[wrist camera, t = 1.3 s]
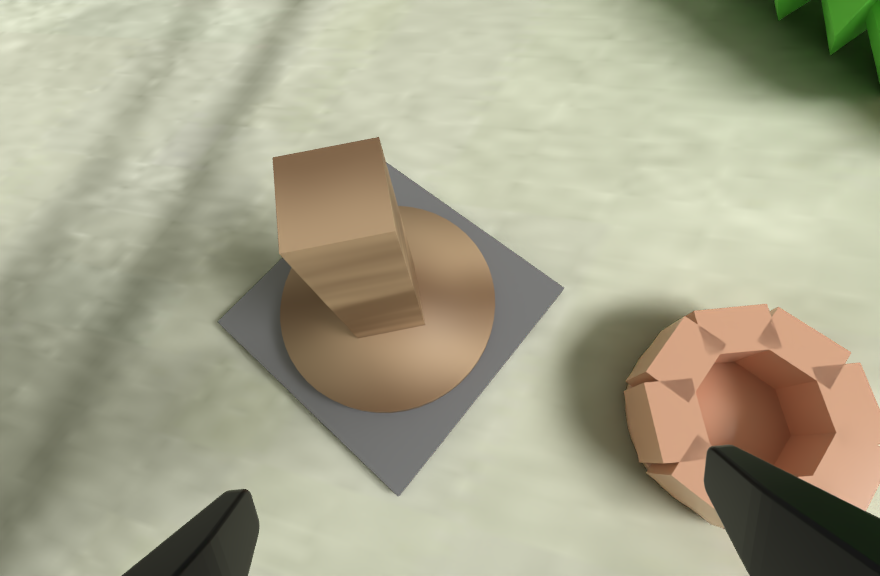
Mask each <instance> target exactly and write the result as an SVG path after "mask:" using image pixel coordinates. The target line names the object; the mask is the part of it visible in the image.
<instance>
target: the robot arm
mask: <svg viewBox="0 0 880 576" xmlns="http://www.w3.org/2000/svg"><path fill="white" fill-rule="evenodd" d="M704 487H705V490H706V493H707V495H708V497H709V499H710V501H711V503H712V505H713V506H714V508H715V510H716V512H717V514H718V516H719V518H720V520H721V522H722V524H723V526H724V528H725V530H726V532H727V534H728V535H729V537H730V539H731V541H732V543H733V545H734V547H735V549H736V551H737V553H738V555H739V557H740V559H741V561H742V562H743V564H744V566H745V568H746V570H747V571H748V573H749V575H750V576H880V518H878V517H876V516H874V515H872V514H870V513H868V512H866V511H864V510H862V509H860V508H858V507H856V506H854V505H852V504H850V503H848V502H846V501H844V500H842V499H840V498H838V497H836V496H834V495H832V494H830V493H828V492H826V491H824V490H822V489H820V488H818V487H816V486H814V485H812V484H810V483H808V482H806V481H804V480H802V479H800V478H798V477H796V476H794V475H792V474H790V473H788V472H786V471H784V470H782V469H780V468H778V467H776V466H774V465H772V464H770V463H768V462H766V461H764V460H762V459H760V458H758V457H756V456H754V455H752V454H750V453H748V452H746V451H744V450H742V449H740V448H738V447H736V446H734V445H729V444H727V445H716V446H711V447H709V448H708V450H707V453H706V462H705V471H704ZM258 534H259V519H258V516H257V512H256V509H255V506H254V502H253V499H252V496H251V493H250V492H249V491H248V490H246V489H239V490H230V491H226V492H225V493H223V494H222V495H221V496H219V497H218V498H217V499H216V500H214V501H213V502H212V503H211V504H210V505H208V506H207V507H206V508H205V509H203V510H202V511H201V512H200V513H198V514H197V515H196V516H195V517H194V518H192V519H191V520H190V521H189V522H187V523H186V524H185V525H184V526H182V527H181V528H180V529H179V530H177V531H176V532H175V533H174V534H173V535H171V536H170V537H169V538H168V539H166V540H165V541H164V542H163V543H161V544H160V545H159V546H158V547H156V548H155V549H154V550H153V551H152V552H150V553H149V554H148V555H147V556H145V557H144V558H143V559H142V560H140V561H139V562H138V563H137V564H135V565H134V566H133V567H132V568H131V569H129V570H128V571H127V572H126V573H124V574H123V575H122V576H248V573H249V569H250V565H251V562H252V558H253V554H254V550H255V546H256V542H257V538H258Z"/></svg>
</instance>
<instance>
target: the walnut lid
mask: <svg viewBox="0 0 880 576" xmlns="http://www.w3.org/2000/svg"><path fill="white" fill-rule="evenodd" d="M273 170H274V185H275V199H276V214H277V228H278V243H279V254H280V255H281V256H282V257H283V258H284V260H285V261H286V262H287V263H288V264H289V265H290V266H291V267H292V268H291V270H290V272H289V275H288V277H287V280H286V282H285V286H284V289H283V293H282V299H281V306H280V324H281V331H282V336H283V340H284V343H285V347H286V349H287V352H288V354H289V356H290V358H291V360H292V362H293V364H294V365H295V367H296V368H297V370H298V371H299V373H300V374H301V375H302V376H303V377H304V378H305V380H306V381H307V382H308V383H309V384H311V385H312V386H313V387H314V388H315V389H316V390H317V391H319V392H320V393H322V394H323V395H325V396H327V397H328V398H330V399H332V400H334V401H336V402H338V403H340V404H343V405H345V406H347V407H350V408H354V409H357V410H361V411H367V412H374V413H394V412H402V411H408V410H411V409H415V408H419V407H422V406H424V405H426V404H429V403H431V402H433V401H435V400H437V399H439V398H440V397H442V396H444V395H446V394H447V393H449V392H450V391H451V390H452V389H454V388H455V387H456V386H457V385H459V384H460V383H461V382H462V381H463V380H464V379H465V378H466V377H467V376H468V375H469V373H470V372H471V371H472V369H473V368H474V367H475V365H476V364H477V363H478V361H479V359H480V357H481V356H482V354H483V352H484V350H485V348H486V345H487V343H488V340H489V338H490V334H491V330H492V326H493V321H494V313H495V291H494V285H493V280H492V276H491V273H490V270H489V267H488V265H487V263H486V261H485V259H484V257H483V255H482V253H481V252H480V250H479V249H478V247H477V246H476V244H475V243H474V242H473V241H472V240H471V239H470V237H469V236H468V235H467V234H466V233H464V232H463V231H462V230H461V229H460V228H459V227H458V226H456V225H455V224H453V223H451V222H450V221H448V220H447V219H445V218H443V217H441V216H439V215H437V214H434V213H432V212H429V211H426V210H423V209H418V208H413V207H406V206H398V204H397V201H396V197H395V193H394V190H393V186H392V183H391V179H390V175H389V172H388V168H387V164H386V161H385V157H384V154H383V150H382V146H381V143H380V139H379V137H377V138H372V139H367V140H361V141H356V142H351V143H346V144H341V145H335V146H330V147H325V148H320V149H315V150H310V151H304V152H299V153H294V154H289V155H284V156H278V157H273Z"/></svg>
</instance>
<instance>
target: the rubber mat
mask: <svg viewBox="0 0 880 576" xmlns="http://www.w3.org/2000/svg"><path fill="white" fill-rule="evenodd" d="M386 164H387V168H388V172H389V175H390V179H391V183H392V186H393V190H394V193H395V197H396V201H397V204H398V206H406V207H413V208H418V209H423V210H426V211H429V212H432V213H434V214H437V215H439V216H441V217H443V218H445V219H447V220H448V221H450V222H451V223H453V224H455V225H456V226H458V227H459V228H460V229H461V230H462V231H463V232H464V233H466V234H467V235H468V236H469V237H470V239H471V240H472V241H473V242H474V243H475V244H476V246H477V247H478V249H479V250H480V252H481V253H482V255H483V257H484V259H485V261H486V263H487V265H488V267H489V270H490V273H491V276H492V280H493V285H494V291H495V313H494V321H493V326H492V330H491V334H490V338H489V340H488V343H487V345H486V348H485V350H484V352H483V354H482V356H481V357H480V359H479V361H478V363H477V364H476V365H475V367H474V368H473V369H472V371H471V372H470V373H469V375H468V376H467V377H466V378H465V379H464V380H463V381H462V382H461V383H460V384H459V385H457V386H456V387H455V388H454V389H452V390H451V391H450V392H449V393H447V394H446V395H444V396H442V397H440V398H439V399H437V400H435V401H433V402H431V403H429V404H426V405H424V406H422V407H419V408H415V409H411V410H408V411H402V412H394V413H374V412H367V411H361V410H357V409H354V408H350V407H347V406H345V405H343V404H340V403H338V402H336V401H334V400H332V399H330V398H328V397H327V396H325V395H323V394H322V393H320V392H319V391H317V390H316V389H315V388H314V387H313V386H312V385H311V384H309V383H308V382H307V381H306V380H305V378H304V377H303V376H302V375H301V374H300V373H299V371H298V370H297V368H296V367H295V365H294V364H293V362H292V360H291V358H290V356H289V354H288V352H287V349H286V347H285V343H284V340H283V336H282V331H281V324H280V306H281V299H282V293H283V289H284V286H285V282H286V280H287V277H288V275H289V272H290V270H291V268H292V267H291V266H290V265H289V264H288V263H287V262H286V261H285V260H284V258H282V259H281V260H280V261H279V262H278V263H277V264H276V265H275V266H274V267H273V268H271V269H270V270H269V271H268V272H267V273H266V274H265V275H264V276H263V277H262V278H261V279H260V280H259V281H258V282H257V283H256V284H255V285H254V286H253V287H252V288H251V289H250V290H249V291H248V292H247V293H246V294H245V295H244V296H243V297H242V298H241V299H240V300H239V301H238V302H237V303H236V304H235V305H234V306H233V307H232V308H231V309H230V310H229V311H228V312H227V313H226V314H225V315H224V316H223V317H222V318H221V319H220V320H219V321H218V323H219V324H220V325H221V326H222V327H223V328H224V329H225V330H226V331H227V332H228V333H229V334H230V335H231V336H232V337H234V338H235V339H236V340H237V341H238V342H239V343H240V344H241V345H242V346H243V347H244V348H245V349H246V350H247V351H248V352H249V353H250V354H251V355H252V356H253V357H254V358H255V359H256V360H257V361H258V362H259V363H260V364H261V365H263V366H264V367H265V368H266V369H267V370H268V371H269V372H270V373H271V374H272V375H273V376H274V377H275V378H276V379H277V380H278V381H279V382H280V383H281V384H282V385H283V386H284V387H285V388H286V389H287V390H288V391H289V392H290V393H292V394H293V395H294V396H295V397H296V398H297V399H298V400H299V401H300V402H301V403H302V404H303V405H304V406H305V407H306V408H307V409H308V410H309V411H310V412H311V413H312V414H313V415H314V416H315V417H316V418H317V419H318V420H319V421H321V422H322V423H323V424H324V425H325V426H326V427H327V428H328V429H329V430H330V431H331V432H332V433H333V434H334V435H335V436H336V437H337V438H338V439H339V440H340V441H341V442H342V443H343V444H344V445H345V446H346V447H347V448H348V449H349V450H351V451H352V452H353V453H354V454H355V455H356V456H357V457H358V458H359V459H360V460H361V461H362V462H363V463H364V464H365V465H366V466H367V467H368V468H369V469H370V470H371V471H372V472H373V473H374V474H375V475H376V476H377V477H378V478H380V479H381V480H382V481H383V482H384V483H385V484H386V485H387V486H388V487H389V488H390V489H391V490H392V491H393V492H394V493H395V494H396V495H397V496H400V495H401V493H402V492H403V491H404V490H405V488H406V487H407V486H408V485H409V483H410V482H411V481H412V479H413V478H414V477H415V476H416V474H417V473H418V472H419V471H420V469H421V468H422V467H423V466H424V464H425V463H426V462H427V461H428V459H429V458H430V457H431V456H432V454H433V453H434V452H435V451H436V449H437V448H438V447H439V446H440V444H441V443H442V442H443V441H444V439H445V438H446V437H447V436H448V434H449V433H450V432H451V431H452V429H453V428H454V427H455V425H456V424H457V423H458V422H459V420H460V419H461V418H462V417H463V415H464V414H465V413H466V412H467V410H468V409H469V408H470V407H471V405H472V404H473V403H474V402H475V400H476V399H477V398H478V397H479V395H480V394H481V393H482V392H483V390H484V389H485V388H486V387H487V385H488V384H489V383H490V382H491V380H492V379H493V378H494V377H495V375H496V374H497V373H498V371H499V370H500V369H501V368H502V366H503V365H504V364H505V363H506V361H507V360H508V359H509V358H510V356H511V355H512V354H513V353H514V351H515V350H516V349H517V348H518V346H519V345H520V344H521V343H522V341H523V340H524V339H525V338H526V336H527V335H528V334H529V333H530V331H531V330H532V329H533V328H534V326H535V325H536V324H537V322H538V321H539V320H540V319H541V317H542V316H543V315H544V314H545V312H546V311H547V310H548V309H549V307H550V306H551V305H552V304H553V302H554V301H555V300H556V299H557V297H558V296H559V295H560V294H561V292H562V291H563V289H564V287H562V286H561V285H560V284H558V283H557V282H555V281H554V280H552V279H551V278H550V277H548V276H547V275H545V274H544V273H543V272H541V271H540V270H538V269H537V268H535V267H534V266H533V265H531V264H530V263H528V262H527V261H526V260H524V259H523V258H521V257H520V256H518V255H517V254H516V253H514V252H513V251H511V250H510V249H509V248H507V247H506V246H504V245H503V244H501V243H500V242H499V241H497V240H496V239H494V238H493V237H492V236H490V235H489V234H487V233H486V232H484V231H483V230H482V229H480V228H479V227H477V226H476V225H475V224H473V223H472V222H470V221H469V220H467V219H466V218H465V217H463V216H462V215H460V214H459V213H458V212H456V211H455V210H453V209H452V208H450V207H449V206H448V205H446V204H445V203H443V202H442V201H441V200H439V199H438V198H436V197H435V196H433V195H432V194H431V193H429V192H428V191H426V190H425V189H424V188H422V187H421V186H419V185H418V184H416V183H415V182H414V181H412V180H411V179H409V178H408V177H407V176H405V175H404V174H402V173H401V172H399V171H398V170H397V169H395V168H394V167H392V166H391V165H390V164H388V163H387V162H386Z"/></svg>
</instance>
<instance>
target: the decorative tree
mask: <svg viewBox="0 0 880 576" xmlns="http://www.w3.org/2000/svg"><path fill="white" fill-rule="evenodd" d="M809 1H810V0H774V3H775V8H776V13H777V17H778V21H779V20H781V19H782V18H784V17H785V16H787V15H789V14H790V13H792V12H793V11H795V10H796V9H798V8H800V7H801V6H803V5H804V4H806V3H807V2H809ZM821 2H822V8H823V15H824V21H825V27H826V34H827V40H828V46H829V52H830V55H832V54H833V53H834V52H836V51H837V50H839V49H840V48H841V47H843V46H844V45H846V44H847V43H848V42H850V41H851V40H853V39H854V38H855V37H857V36H858V35H860V34H861V33H862V32H864V31H865V30H867V31H868V35H869V40H870V44H871V48H872V53H873V57H874V61H875V65H876V70H877V74H878V78H879V83H880V0H821Z"/></svg>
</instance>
